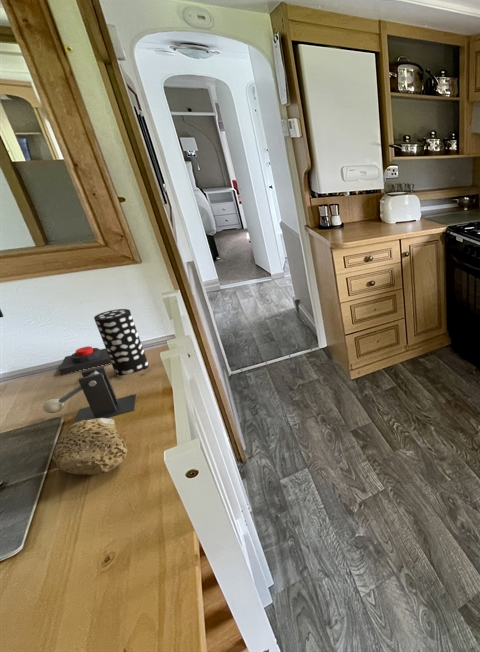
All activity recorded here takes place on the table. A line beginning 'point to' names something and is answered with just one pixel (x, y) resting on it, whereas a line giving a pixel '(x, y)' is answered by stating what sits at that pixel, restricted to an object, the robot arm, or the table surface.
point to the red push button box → (84, 361)
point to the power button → (84, 351)
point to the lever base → (102, 397)
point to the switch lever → (61, 399)
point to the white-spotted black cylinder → (121, 341)
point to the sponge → (90, 447)
